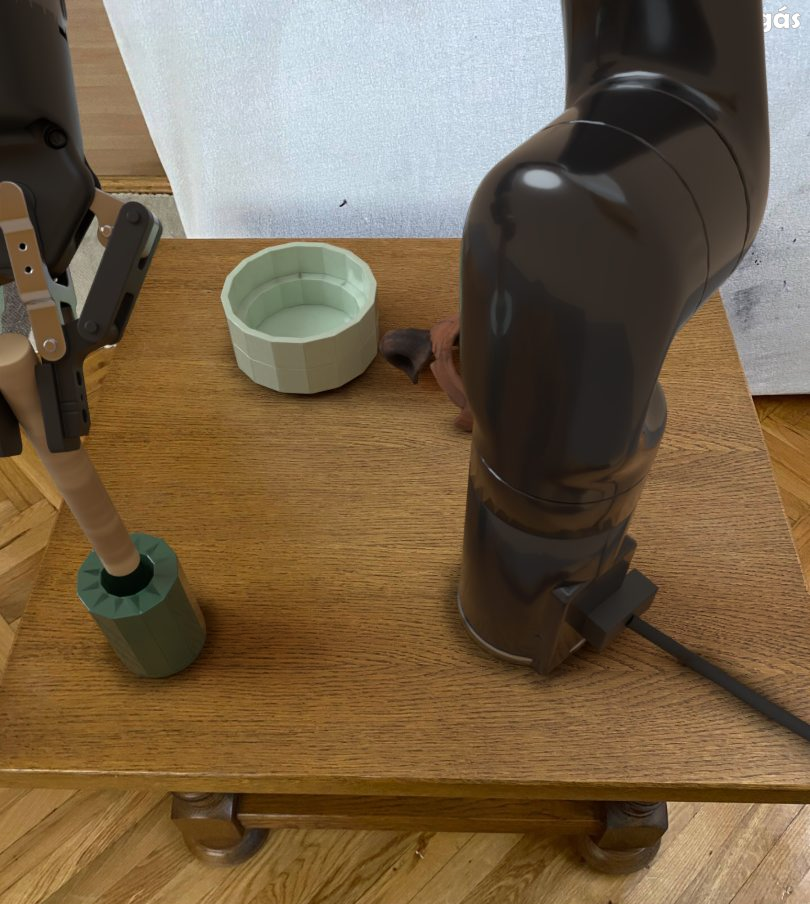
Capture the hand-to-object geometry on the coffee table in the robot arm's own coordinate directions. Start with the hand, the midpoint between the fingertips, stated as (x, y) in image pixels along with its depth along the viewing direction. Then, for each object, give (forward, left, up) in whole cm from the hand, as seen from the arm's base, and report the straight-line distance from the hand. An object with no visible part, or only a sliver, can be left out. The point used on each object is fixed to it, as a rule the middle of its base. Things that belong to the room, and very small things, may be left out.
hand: (36, 452), depth 36 cm
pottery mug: (+6, -31, -21) cm, 38 cm away
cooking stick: (+2, -1, -12) cm, 12 cm away
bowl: (+18, -25, -21) cm, 37 cm away
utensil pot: (+2, -1, -21) cm, 21 cm away
